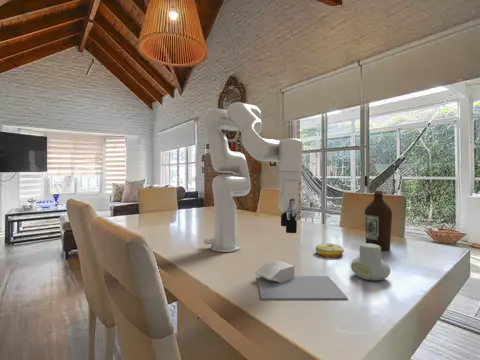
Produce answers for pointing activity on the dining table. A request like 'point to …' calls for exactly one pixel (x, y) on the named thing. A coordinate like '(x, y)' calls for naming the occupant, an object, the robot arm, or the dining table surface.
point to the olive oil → (378, 222)
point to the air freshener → (370, 263)
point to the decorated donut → (329, 250)
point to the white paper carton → (276, 271)
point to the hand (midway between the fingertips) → (288, 229)
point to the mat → (300, 289)
